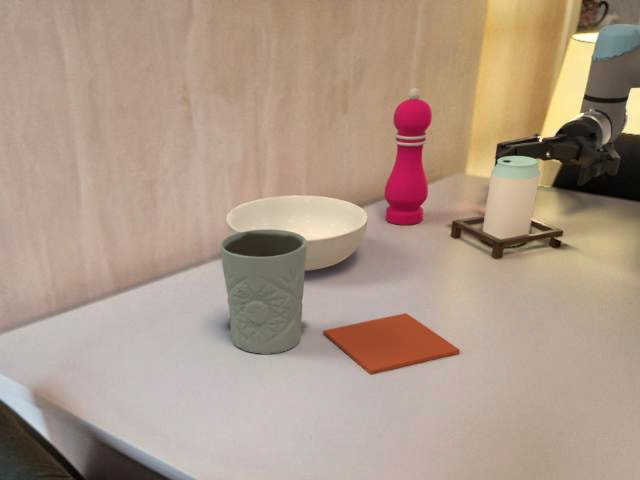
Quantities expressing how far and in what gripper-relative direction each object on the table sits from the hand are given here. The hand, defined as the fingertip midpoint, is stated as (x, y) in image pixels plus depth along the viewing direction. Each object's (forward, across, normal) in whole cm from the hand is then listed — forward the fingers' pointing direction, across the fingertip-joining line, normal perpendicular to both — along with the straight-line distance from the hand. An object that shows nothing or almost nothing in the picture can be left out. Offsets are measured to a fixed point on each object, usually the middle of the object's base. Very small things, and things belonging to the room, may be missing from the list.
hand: (537, 171), depth 121 cm
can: (+10, 0, +8) cm, 13 cm away
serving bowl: (+34, -24, +8) cm, 42 cm away
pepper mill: (+8, -19, +9) cm, 22 cm away
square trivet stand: (+10, 0, +8) cm, 13 cm away
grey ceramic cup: (+59, -12, +7) cm, 60 cm away
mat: (+52, +2, +7) cm, 52 cm away
